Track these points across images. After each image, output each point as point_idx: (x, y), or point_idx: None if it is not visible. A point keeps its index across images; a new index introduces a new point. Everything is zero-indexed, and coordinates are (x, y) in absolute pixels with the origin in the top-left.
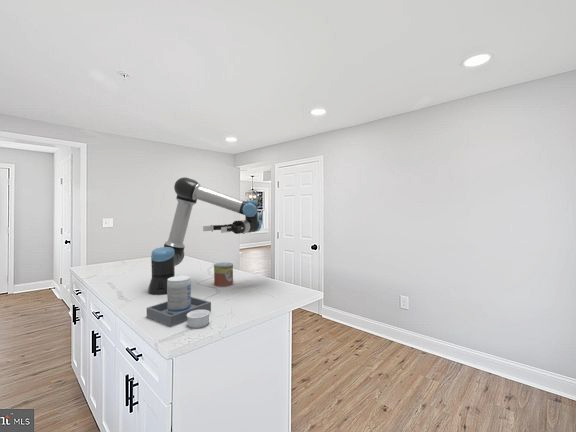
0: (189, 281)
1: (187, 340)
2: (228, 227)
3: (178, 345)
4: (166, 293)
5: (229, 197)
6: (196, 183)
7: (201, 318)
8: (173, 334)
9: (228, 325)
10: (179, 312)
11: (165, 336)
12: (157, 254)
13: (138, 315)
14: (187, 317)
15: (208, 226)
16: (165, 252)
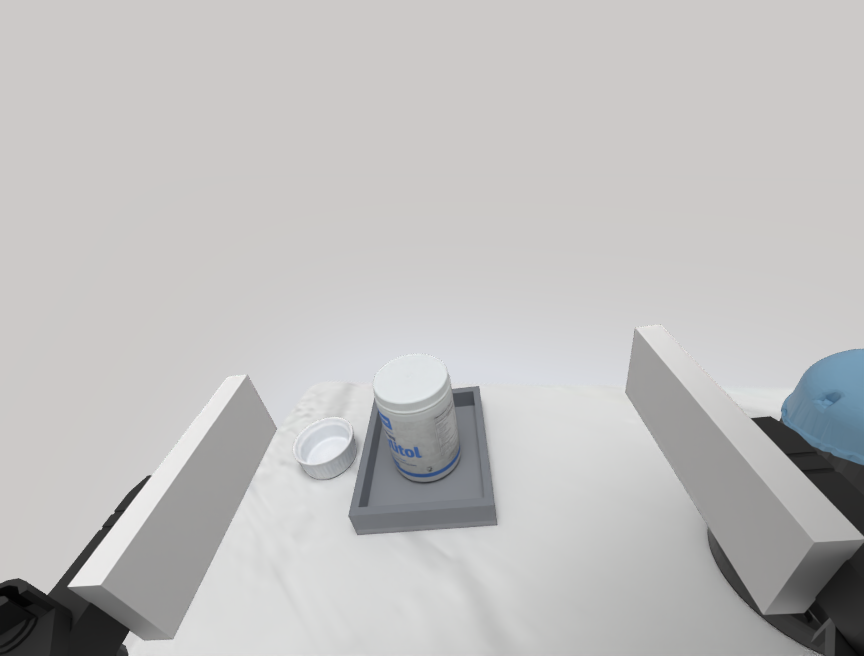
0: (376, 401)
1: (303, 409)
2: (145, 502)
3: (308, 394)
4: (709, 539)
5: None
6: None
7: (302, 434)
8: (347, 405)
9: (247, 496)
10: (376, 417)
11: (355, 394)
12: (813, 364)
13: (509, 397)
14: (338, 418)
15: (687, 402)
16: (823, 386)
